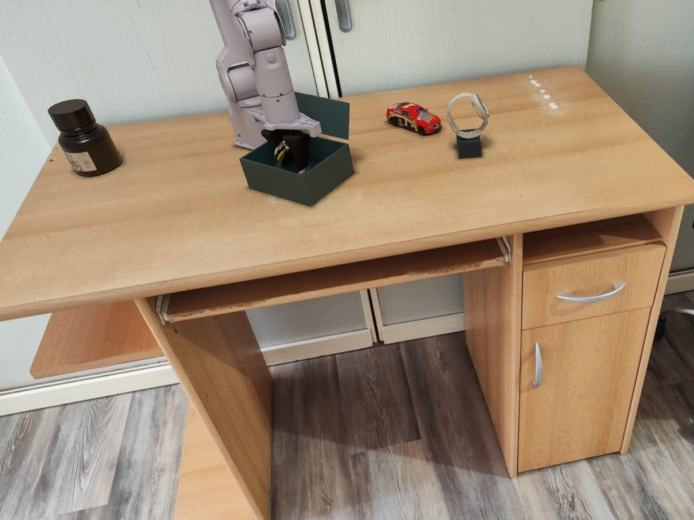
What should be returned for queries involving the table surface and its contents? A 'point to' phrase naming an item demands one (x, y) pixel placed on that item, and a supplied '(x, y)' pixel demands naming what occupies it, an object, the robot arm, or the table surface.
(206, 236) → the table surface
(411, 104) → the race car
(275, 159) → the ring
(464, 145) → the watch
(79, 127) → the ink bottle
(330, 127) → the flap
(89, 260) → the table surface
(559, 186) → the table surface
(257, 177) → the carton
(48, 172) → the table surface
